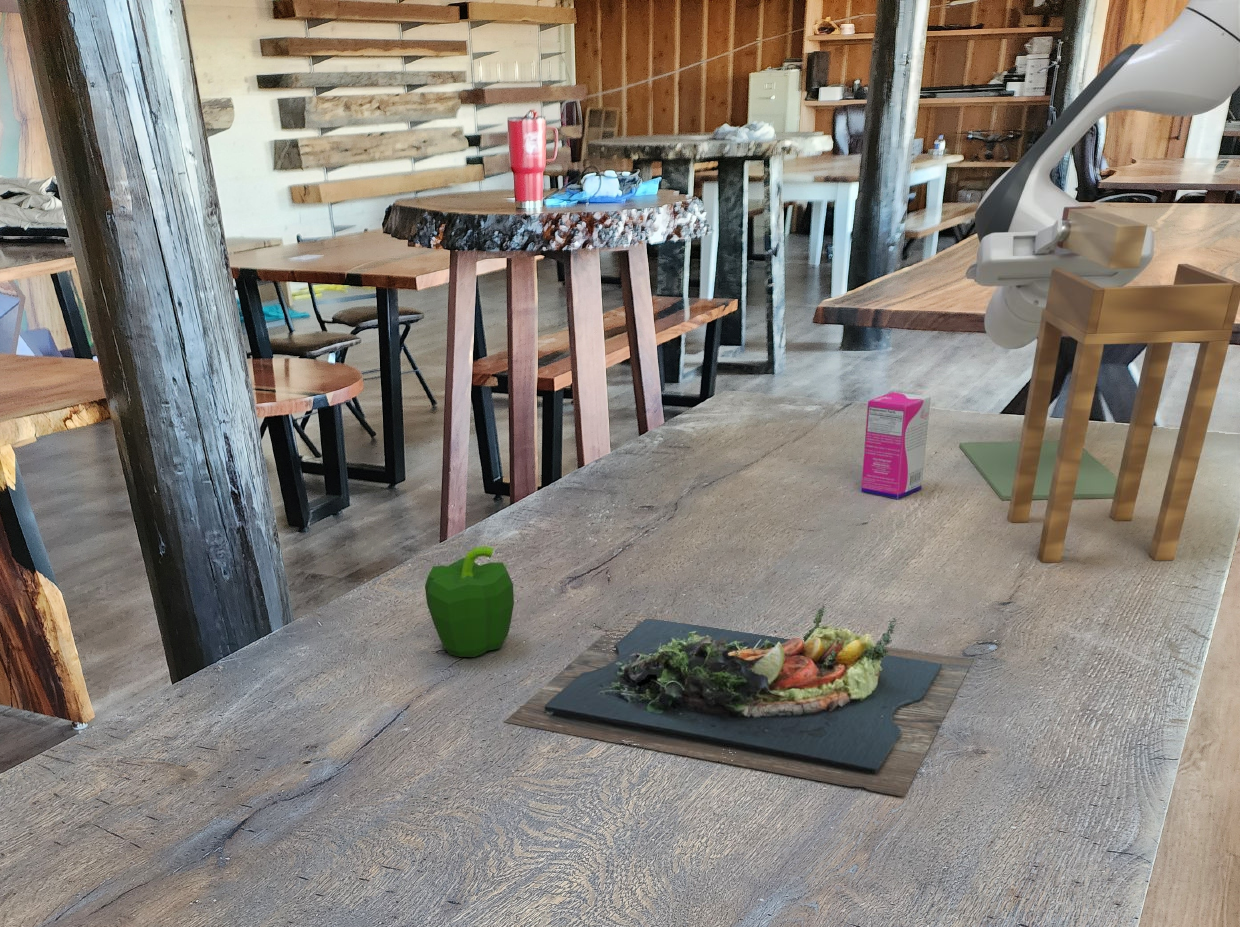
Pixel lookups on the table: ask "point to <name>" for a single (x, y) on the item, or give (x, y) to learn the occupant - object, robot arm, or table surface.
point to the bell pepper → (470, 604)
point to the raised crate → (1128, 317)
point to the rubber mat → (1001, 463)
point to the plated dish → (758, 700)
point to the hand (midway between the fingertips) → (1084, 225)
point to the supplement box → (895, 444)
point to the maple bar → (1104, 237)
